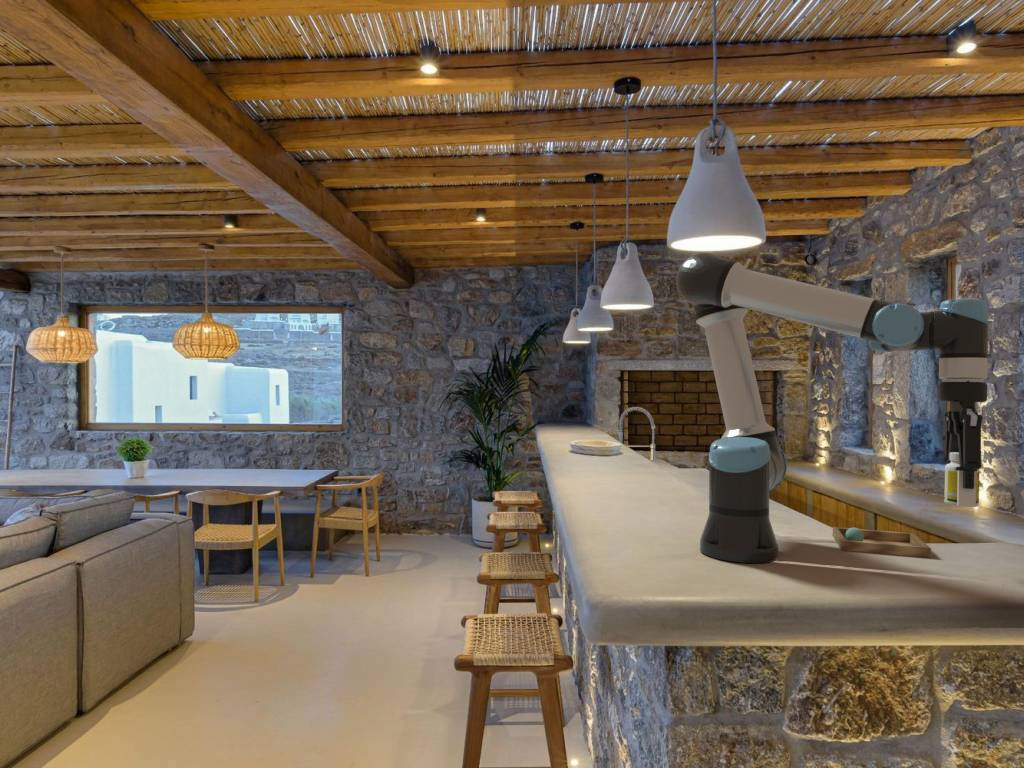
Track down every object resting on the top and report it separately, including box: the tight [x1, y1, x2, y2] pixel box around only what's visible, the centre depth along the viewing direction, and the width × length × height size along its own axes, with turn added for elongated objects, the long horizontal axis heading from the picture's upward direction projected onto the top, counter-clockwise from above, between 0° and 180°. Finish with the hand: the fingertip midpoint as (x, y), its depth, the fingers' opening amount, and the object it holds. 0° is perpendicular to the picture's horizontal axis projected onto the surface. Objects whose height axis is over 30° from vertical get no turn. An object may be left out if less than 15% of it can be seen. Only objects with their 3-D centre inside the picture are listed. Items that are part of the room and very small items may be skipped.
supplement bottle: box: [943, 452, 980, 508], centre depth 121 cm, size 5×5×10 cm
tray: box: [832, 526, 932, 559], centre depth 136 cm, size 16×14×2 cm
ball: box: [846, 526, 864, 541], centre depth 138 cm, size 4×4×4 cm
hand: (961, 502), depth 121 cm, fingers closed on supplement bottle, 5 cm apart
